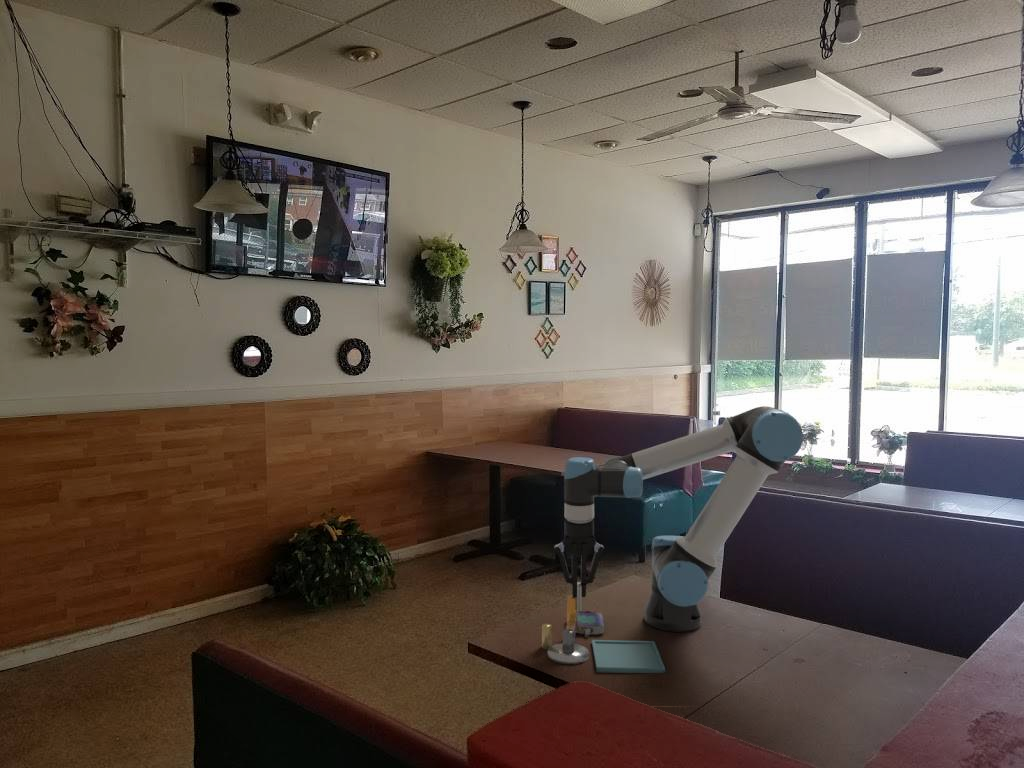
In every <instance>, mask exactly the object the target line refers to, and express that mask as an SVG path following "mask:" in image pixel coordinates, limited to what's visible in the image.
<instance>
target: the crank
mask: <svg viewBox="0 0 1024 768" xmlns="http://www.w3.org/2000/svg"><path fill="white" fill-rule="evenodd" d="M566 599H567V601H566V626H565V629H572V630H574V640H575V637H576V634H578V633H577V597H573V594H572V595H567V597H566Z"/></svg>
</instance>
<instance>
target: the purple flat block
mask: <svg viewBox="0 0 1024 768" xmlns="http://www.w3.org/2000/svg"><path fill="white" fill-rule="evenodd" d="M603 618H604V617H603V614H602V613H601V612H599V611H589V610H585V611H582V610H581V611H577V633H576V634H579V635H584V637H585V638H588V637H589V638H590V635H602V634H603V633H604V632H605V630H606V629H605V625H604V619H603Z"/></svg>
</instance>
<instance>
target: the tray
mask: <svg viewBox="0 0 1024 768" xmlns="http://www.w3.org/2000/svg"><path fill="white" fill-rule="evenodd" d="M656 644H657V643H656V642H655V641H654V640H620V639H619V640H617V639H616V640H615V639H613V640H612V639H591V645H592V652H593V658H594V664H595V669H596V673H611V674H612V673H613V674H614V673H615V674H616V673H619V674H621V673H622V674H623V673H624V674H626V673H627V674H629V673H630V674H633V673H634V674H665V673H666V667H665V665H664V663H663V660H662V657H661V655H660V651H659V650H658V647H657V645H656Z"/></svg>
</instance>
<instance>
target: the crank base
mask: <svg viewBox="0 0 1024 768" xmlns="http://www.w3.org/2000/svg"><path fill="white" fill-rule="evenodd" d="M552 626H553V625H552V624H550V623H543V624H542V625H541V648H542V649H544V650H547V657H548V659H549V660H551V662H552V661H553V662H555V663H557V664H562V665H579V664H582V663H585V662H587V661H588V660H589V658H590V650H589V649H588V648H587V647H586V646H583V645H581V644H577V643H575V639H574V630H572V629H566V628H565V629H562V643H556V644H552Z"/></svg>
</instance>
